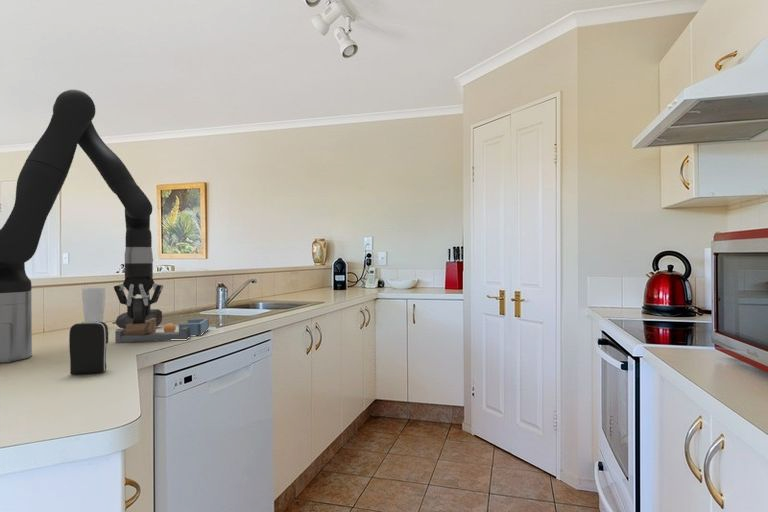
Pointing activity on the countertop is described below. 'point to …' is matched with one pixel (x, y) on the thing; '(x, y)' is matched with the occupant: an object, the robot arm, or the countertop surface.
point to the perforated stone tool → (124, 318)
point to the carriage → (140, 320)
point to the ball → (169, 327)
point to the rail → (151, 336)
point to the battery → (88, 347)
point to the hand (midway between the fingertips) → (139, 317)
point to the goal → (196, 326)
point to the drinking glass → (93, 303)
